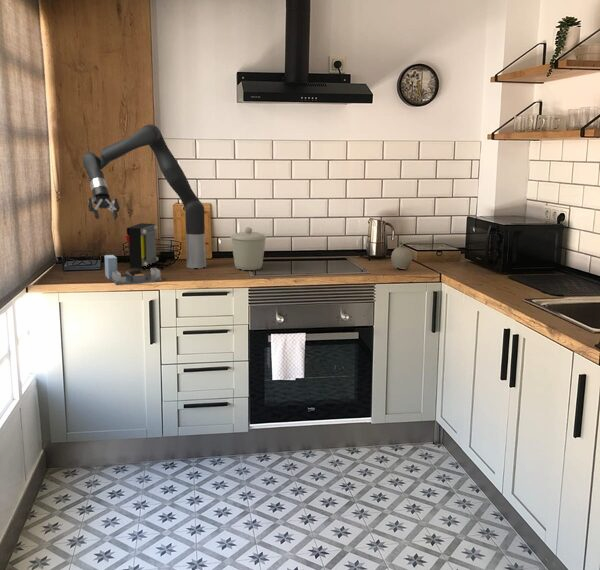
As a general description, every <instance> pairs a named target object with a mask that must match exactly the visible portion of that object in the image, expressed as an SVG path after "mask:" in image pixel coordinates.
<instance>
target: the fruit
mask: <svg viewBox="0 0 600 570" xmlns="http://www.w3.org/2000/svg"><path fill="white" fill-rule="evenodd" d="M397 243H398V244H397V246H396V247H395V248H394V249H393V251H392V252H391V256H390V257H391V258H390V261H391V264H392V265H393V267H394V268H395V267H396V268H395V269H397V268H407V269H408V268H409V267H410V266H411V264H412V261H413V255H412V252H411V250H410V249H409V248H407V247H404V243H403V242H401V241H398V242H397ZM400 245H401V246H400Z"/></svg>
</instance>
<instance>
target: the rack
mask: <svg viewBox="0 0 600 570" xmlns="http://www.w3.org/2000/svg"><path fill="white" fill-rule="evenodd" d="M111 280H112V281H113V282H114V283H115V284H114V283H113V282H112V281H111ZM159 280H162V281H163V278H162V277H161V270H159V268H157V267H150V274H147V273H145V272H144V271H143V270H141V269H137V270H136V269H135V270H127V271H126V270H125V276H122V274H121V272H120V271H118V270H117V271H112V278H111V279H110V281H111V282H112V283H113V284H114V285H116V286H122V285H123V286H125V285H132V284H133V285H134V284H144V283H143V282H148V283H150V282H149V281H159ZM159 282H160V281H159Z"/></svg>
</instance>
